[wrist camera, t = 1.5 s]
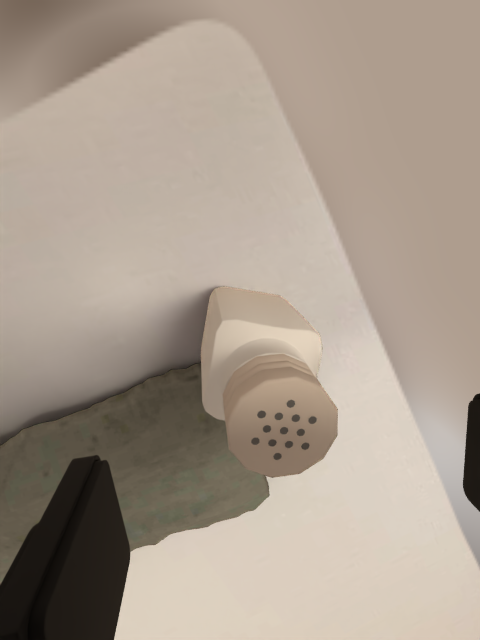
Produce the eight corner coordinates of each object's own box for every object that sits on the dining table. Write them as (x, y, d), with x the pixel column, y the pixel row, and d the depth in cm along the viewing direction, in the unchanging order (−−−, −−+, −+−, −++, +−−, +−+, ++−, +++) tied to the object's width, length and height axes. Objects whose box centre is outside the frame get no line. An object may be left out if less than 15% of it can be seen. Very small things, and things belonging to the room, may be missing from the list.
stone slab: (272, 475, 24) (220, 347, 19) (283, 513, 21) (225, 376, 17) (-56, 593, 24) (-182, 493, 19) (-84, 645, 21) (-235, 542, 17)
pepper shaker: (211, 281, 18) (225, 353, 9) (288, 294, 19) (370, 374, 10) (198, 356, 20) (200, 484, 10) (272, 365, 20) (333, 495, 11)
